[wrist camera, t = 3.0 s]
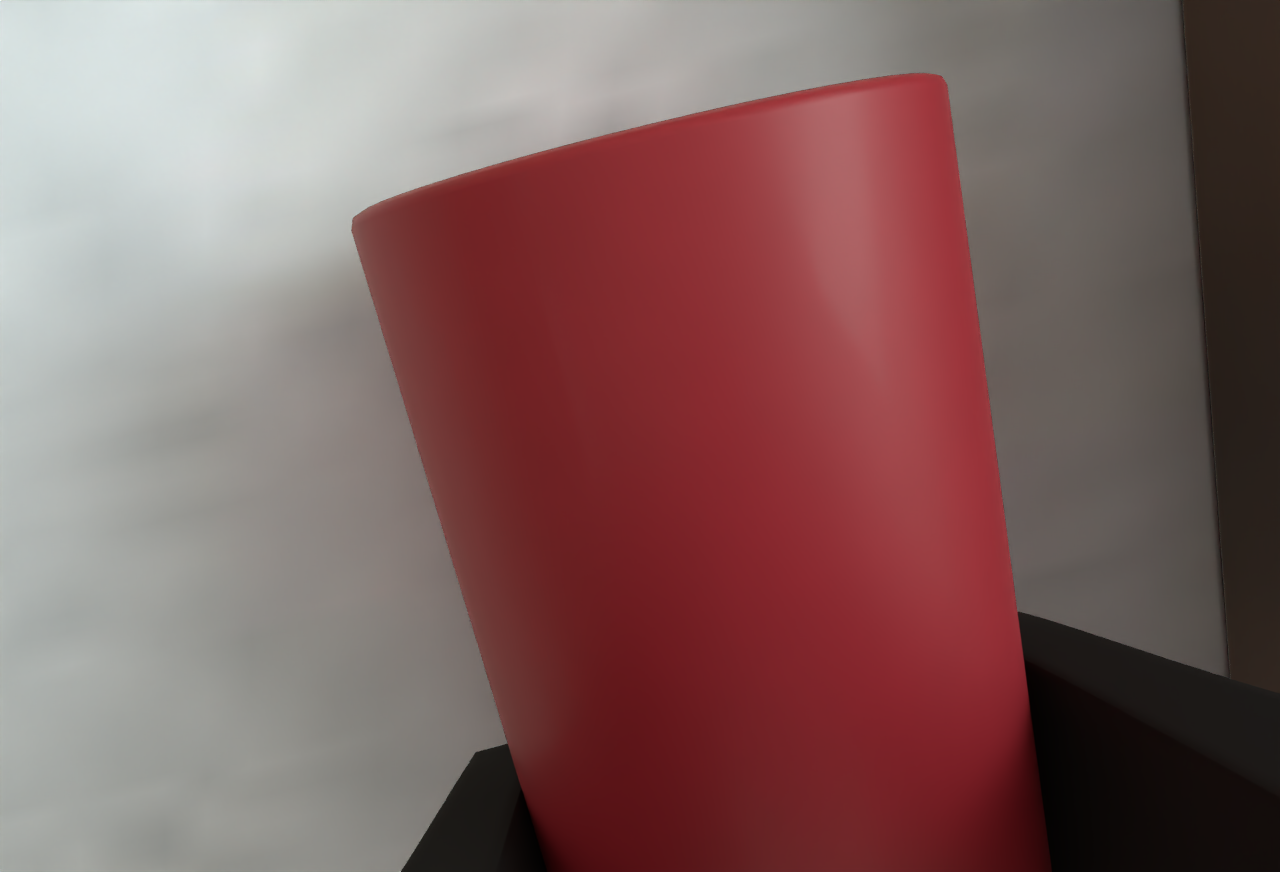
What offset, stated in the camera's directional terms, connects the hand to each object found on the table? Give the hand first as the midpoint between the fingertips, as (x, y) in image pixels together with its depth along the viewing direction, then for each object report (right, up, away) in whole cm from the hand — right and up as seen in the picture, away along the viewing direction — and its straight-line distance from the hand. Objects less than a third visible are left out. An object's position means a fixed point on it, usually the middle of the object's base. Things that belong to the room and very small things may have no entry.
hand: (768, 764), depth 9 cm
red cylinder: (0, 0, -1) cm, 1 cm away
